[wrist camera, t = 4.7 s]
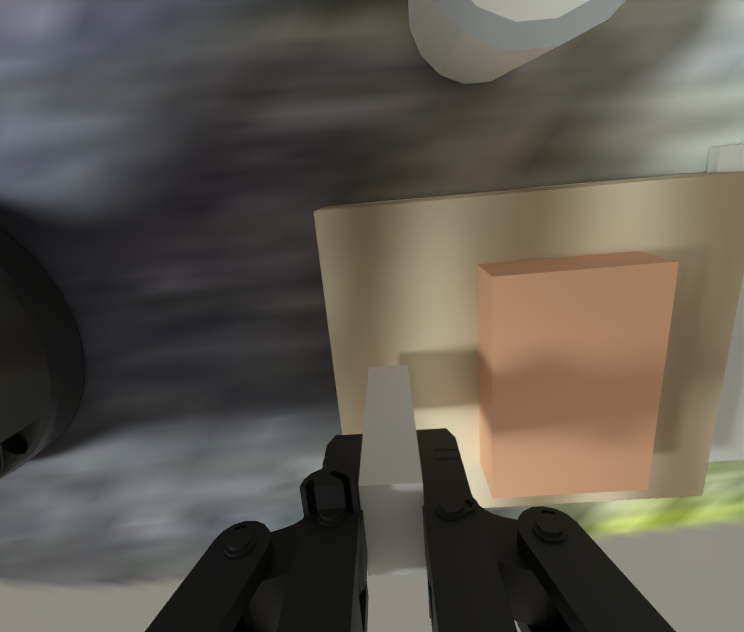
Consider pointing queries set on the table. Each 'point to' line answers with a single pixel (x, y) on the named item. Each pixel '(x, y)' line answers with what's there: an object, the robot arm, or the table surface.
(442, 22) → the shot glass
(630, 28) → the table surface
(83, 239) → the table surface
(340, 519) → the robot arm
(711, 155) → the grey mat
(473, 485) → the board
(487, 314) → the terracotta block
